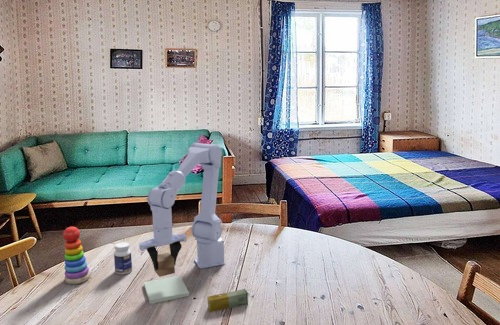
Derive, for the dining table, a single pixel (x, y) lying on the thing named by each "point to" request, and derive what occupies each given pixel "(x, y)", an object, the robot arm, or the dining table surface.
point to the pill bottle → (122, 258)
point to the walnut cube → (165, 264)
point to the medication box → (227, 300)
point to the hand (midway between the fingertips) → (164, 266)
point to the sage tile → (165, 289)
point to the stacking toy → (74, 258)
